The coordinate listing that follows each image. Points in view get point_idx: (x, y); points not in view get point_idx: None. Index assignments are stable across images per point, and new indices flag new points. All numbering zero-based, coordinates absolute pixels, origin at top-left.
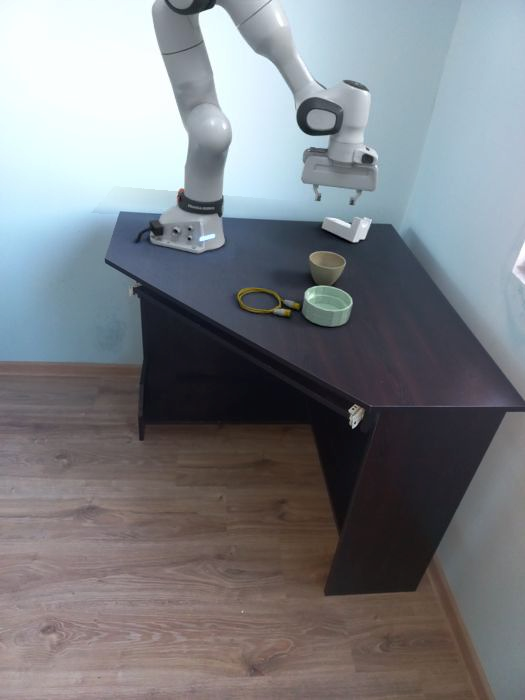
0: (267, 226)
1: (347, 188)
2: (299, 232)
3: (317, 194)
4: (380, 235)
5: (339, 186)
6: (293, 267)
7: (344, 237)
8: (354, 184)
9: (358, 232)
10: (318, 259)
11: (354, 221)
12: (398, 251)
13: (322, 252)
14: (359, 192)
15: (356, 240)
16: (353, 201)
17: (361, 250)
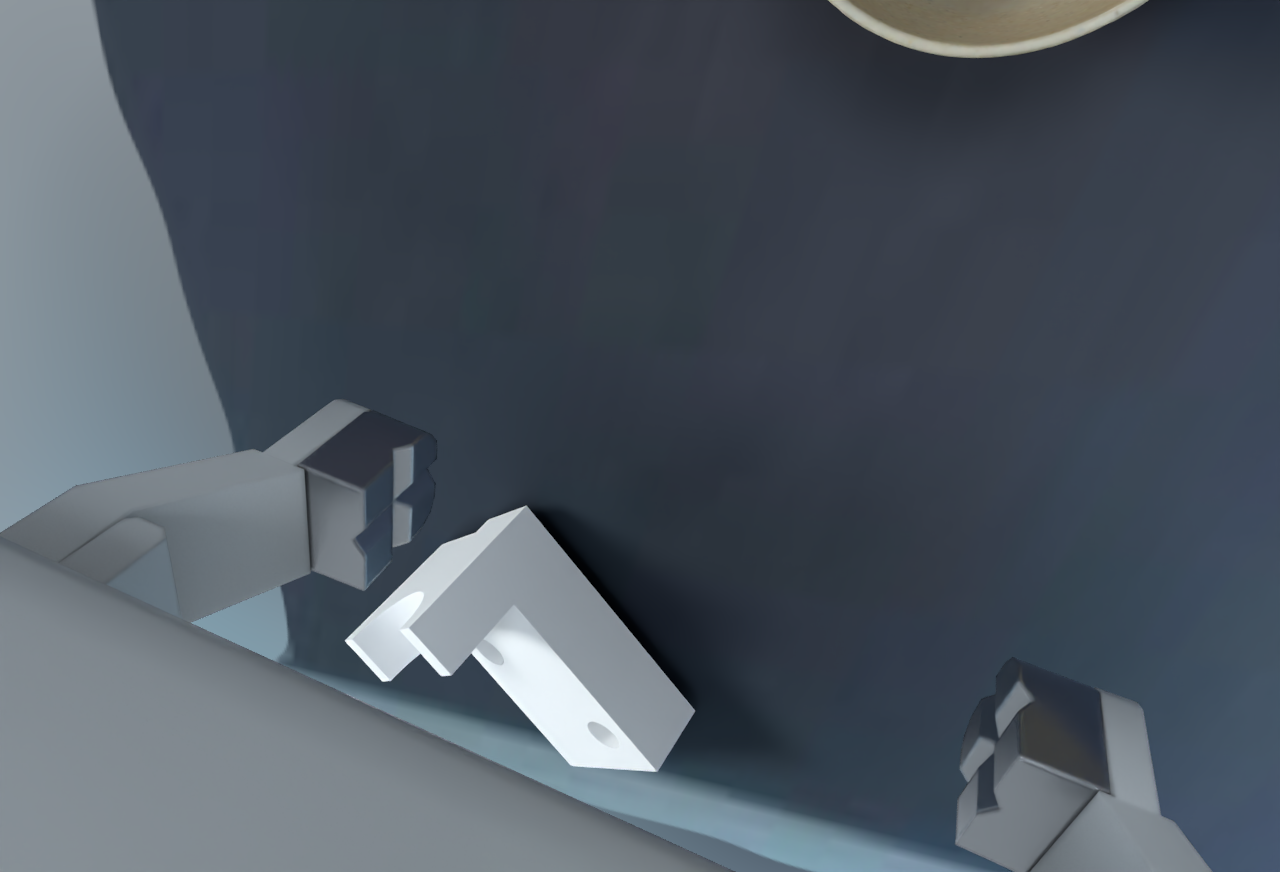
0: None
1: (304, 676)
2: (870, 705)
3: (1129, 810)
4: None
5: (518, 805)
6: (1225, 159)
7: (570, 566)
8: (14, 707)
9: (464, 559)
10: (1037, 7)
11: (464, 638)
12: (258, 375)
13: (985, 42)
14: (84, 524)
15: (496, 521)
16: (330, 441)
17: (487, 413)
